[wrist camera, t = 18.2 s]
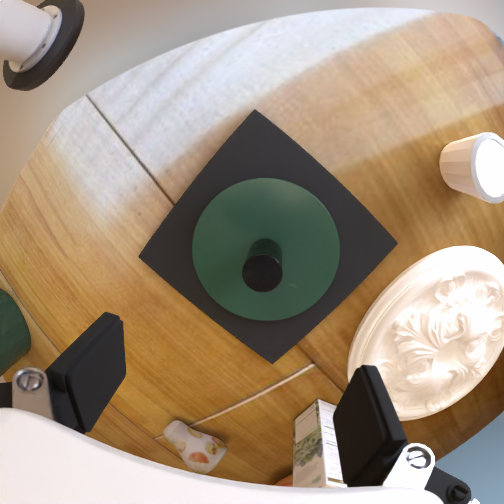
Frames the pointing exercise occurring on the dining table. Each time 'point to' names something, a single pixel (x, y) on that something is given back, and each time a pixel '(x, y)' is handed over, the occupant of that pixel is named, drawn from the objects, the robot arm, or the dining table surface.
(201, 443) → the mug
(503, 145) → the white lidded cup
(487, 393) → the dining table surface
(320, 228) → the lid
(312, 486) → the syrup box
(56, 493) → the robot arm
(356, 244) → the mat
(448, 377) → the ceiling medallion
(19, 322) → the pot
